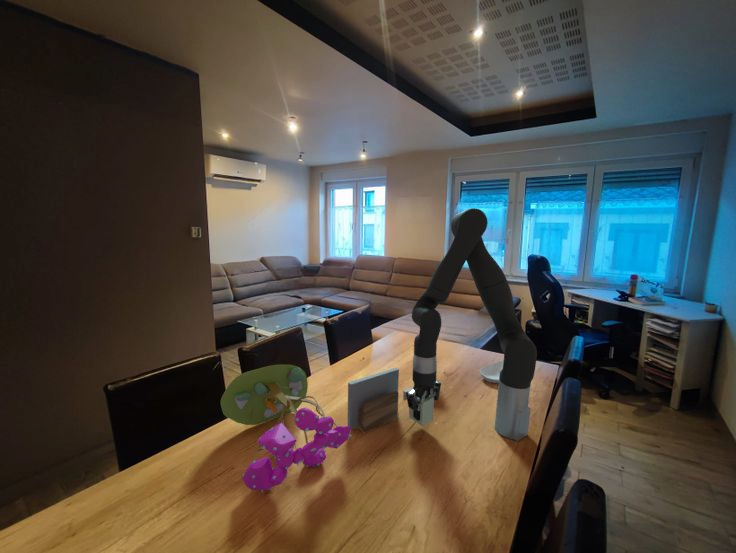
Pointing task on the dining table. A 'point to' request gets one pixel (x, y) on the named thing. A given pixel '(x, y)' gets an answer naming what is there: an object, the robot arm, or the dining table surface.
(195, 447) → the dining table surface
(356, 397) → the wall board
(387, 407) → the brown wooden block
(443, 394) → the dining table surface
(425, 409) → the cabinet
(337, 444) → the magenta clustered figurine
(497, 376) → the spoon rest
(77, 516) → the dining table surface
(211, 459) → the dining table surface
